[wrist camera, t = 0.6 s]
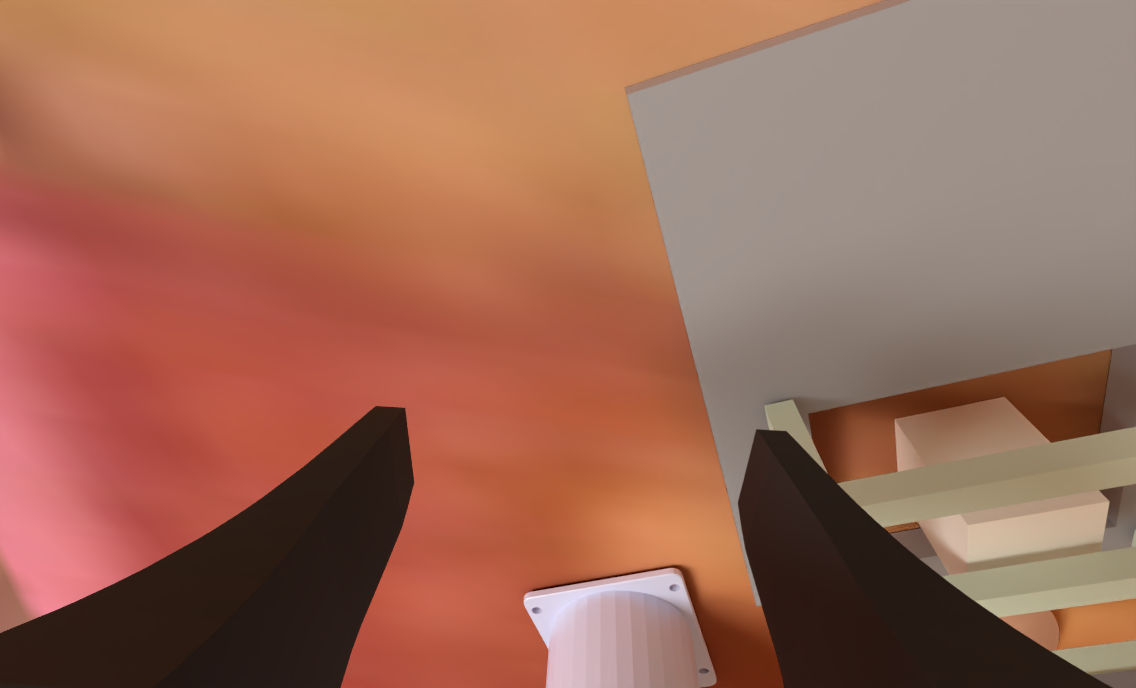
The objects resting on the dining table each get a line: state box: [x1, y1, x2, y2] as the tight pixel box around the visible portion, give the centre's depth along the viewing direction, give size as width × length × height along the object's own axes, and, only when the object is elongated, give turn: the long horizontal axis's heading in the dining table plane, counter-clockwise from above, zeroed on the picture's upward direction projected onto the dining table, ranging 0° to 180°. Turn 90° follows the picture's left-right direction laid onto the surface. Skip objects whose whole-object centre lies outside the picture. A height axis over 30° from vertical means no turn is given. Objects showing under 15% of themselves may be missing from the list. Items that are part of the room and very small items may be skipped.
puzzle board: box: [625, 0, 1136, 606], centre depth 21 cm, size 23×18×2 cm
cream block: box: [895, 397, 1110, 575], centre depth 22 cm, size 4×4×6 cm
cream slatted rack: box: [764, 399, 1136, 688], centre depth 20 cm, size 11×14×7 cm
